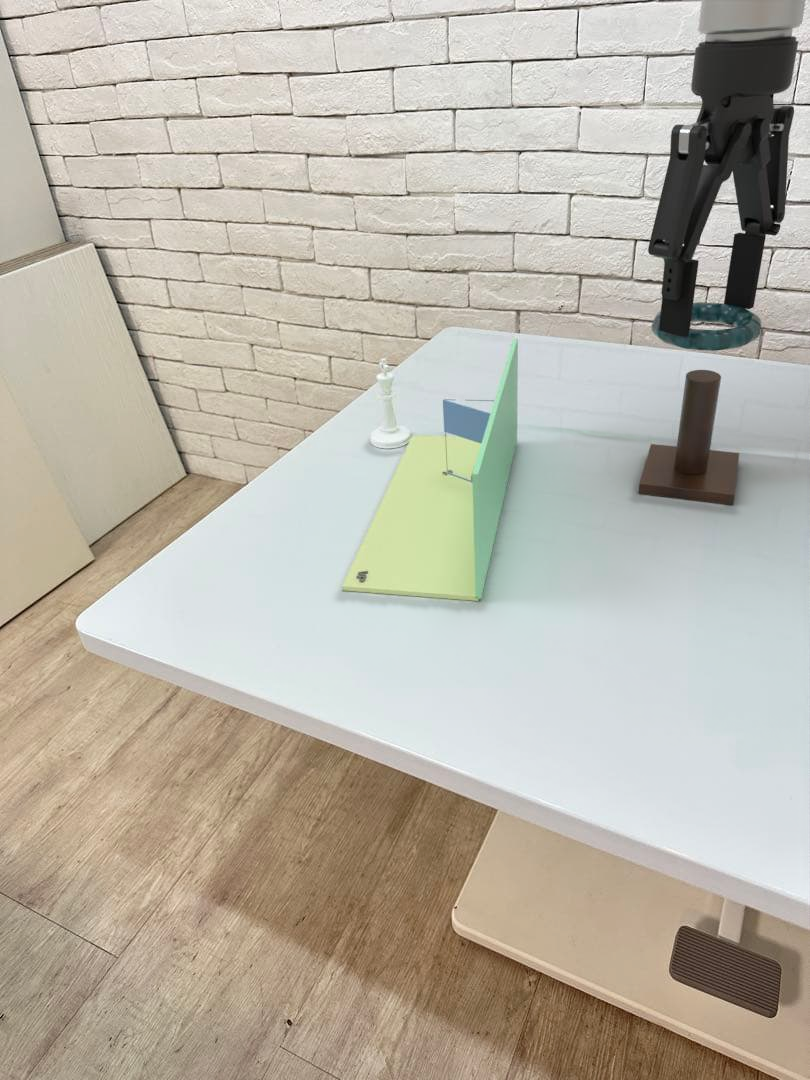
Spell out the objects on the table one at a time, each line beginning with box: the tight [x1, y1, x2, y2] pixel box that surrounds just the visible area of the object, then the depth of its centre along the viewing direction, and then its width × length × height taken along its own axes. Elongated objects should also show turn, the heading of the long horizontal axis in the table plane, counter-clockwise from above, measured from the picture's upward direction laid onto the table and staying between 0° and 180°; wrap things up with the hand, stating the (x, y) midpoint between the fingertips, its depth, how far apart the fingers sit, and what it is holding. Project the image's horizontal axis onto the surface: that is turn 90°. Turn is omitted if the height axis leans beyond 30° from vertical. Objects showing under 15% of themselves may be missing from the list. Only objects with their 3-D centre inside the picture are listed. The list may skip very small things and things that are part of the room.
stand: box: [637, 369, 740, 506], centre depth 79 cm, size 9×9×11 cm
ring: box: [651, 301, 762, 352], centre depth 75 cm, size 10×10×2 cm
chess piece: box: [369, 357, 412, 450], centre depth 92 cm, size 5×5×10 cm
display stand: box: [341, 337, 519, 602], centre depth 78 cm, size 30×12×12 cm, turn 167°
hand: (707, 318), depth 75 cm, fingers closed on ring, 9 cm apart
